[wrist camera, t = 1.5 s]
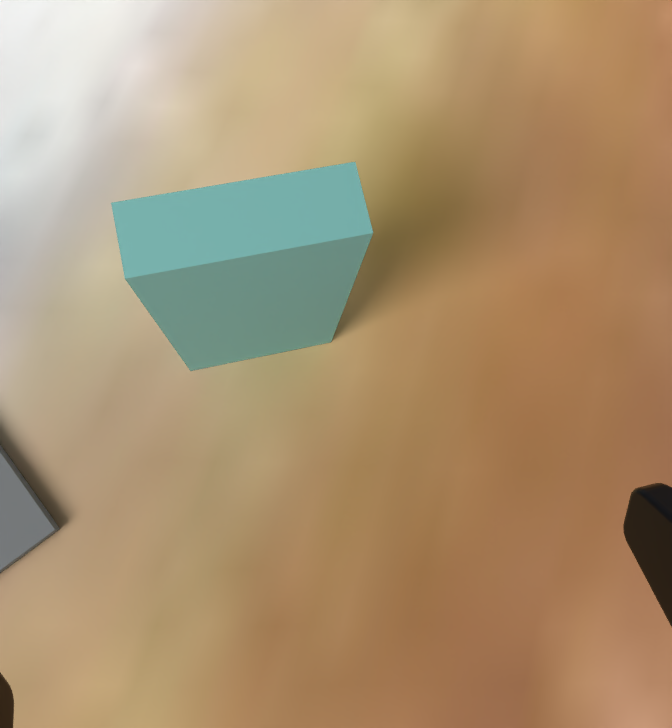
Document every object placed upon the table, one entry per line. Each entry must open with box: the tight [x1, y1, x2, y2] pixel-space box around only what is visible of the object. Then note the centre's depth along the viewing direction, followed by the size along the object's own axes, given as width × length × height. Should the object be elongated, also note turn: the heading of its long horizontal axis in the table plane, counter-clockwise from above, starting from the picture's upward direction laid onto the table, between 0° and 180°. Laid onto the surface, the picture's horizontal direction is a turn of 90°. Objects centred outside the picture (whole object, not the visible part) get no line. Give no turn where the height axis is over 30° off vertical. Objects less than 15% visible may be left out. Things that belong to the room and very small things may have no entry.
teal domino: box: [111, 162, 373, 371], centre depth 18 cm, size 2×5×10 cm, turn 103°
